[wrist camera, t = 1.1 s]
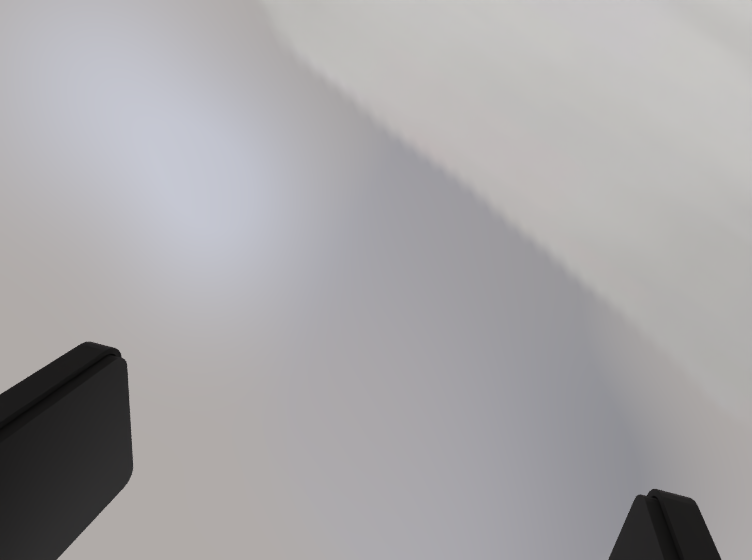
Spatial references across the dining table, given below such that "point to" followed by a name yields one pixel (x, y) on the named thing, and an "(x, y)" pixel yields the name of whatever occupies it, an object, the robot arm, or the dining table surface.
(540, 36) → the dining table surface
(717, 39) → the dining table surface
